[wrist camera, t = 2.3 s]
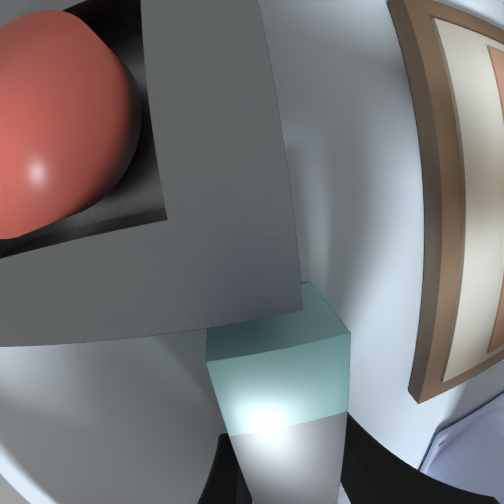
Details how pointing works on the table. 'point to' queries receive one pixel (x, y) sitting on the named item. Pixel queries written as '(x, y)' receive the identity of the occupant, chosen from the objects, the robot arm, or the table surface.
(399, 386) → the table surface
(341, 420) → the marker
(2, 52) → the button
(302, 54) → the table surface
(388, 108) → the table surface
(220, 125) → the button housing
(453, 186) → the wooden picture frame
